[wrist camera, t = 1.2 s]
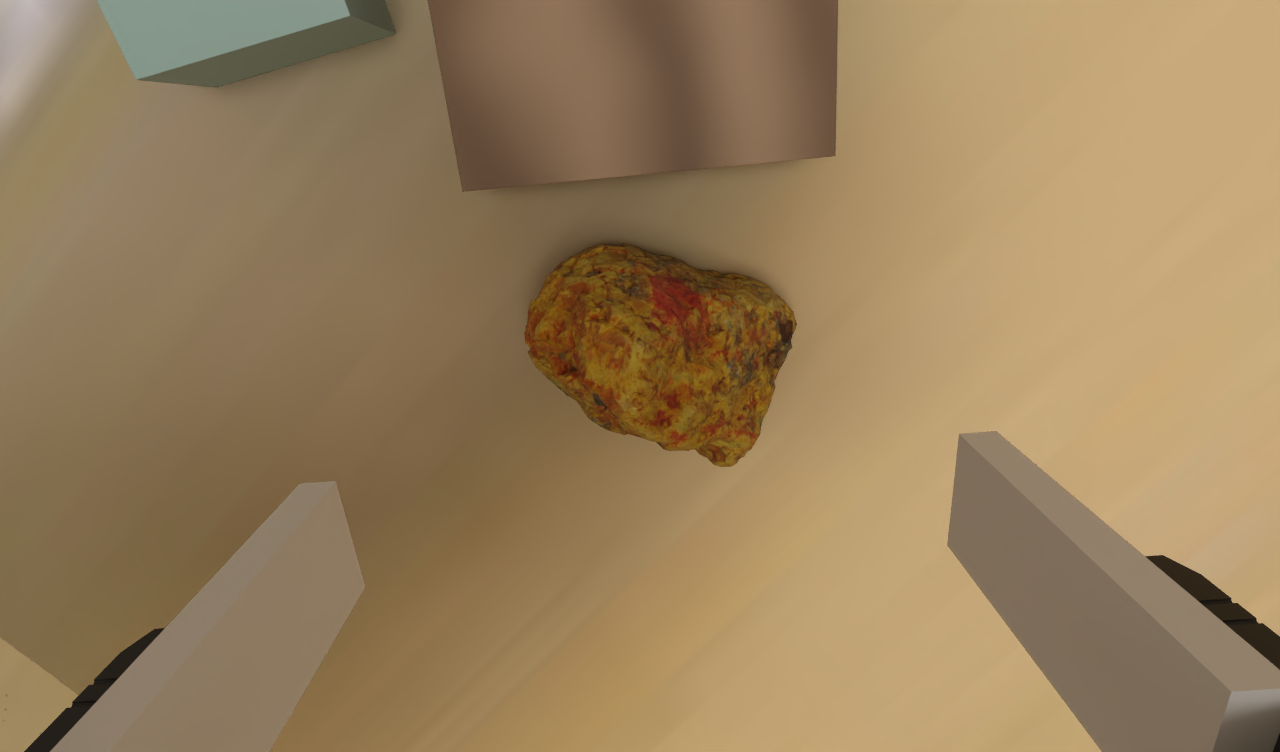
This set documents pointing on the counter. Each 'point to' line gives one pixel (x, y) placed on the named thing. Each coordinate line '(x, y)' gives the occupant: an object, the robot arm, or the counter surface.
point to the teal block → (236, 35)
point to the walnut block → (633, 85)
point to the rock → (662, 348)
